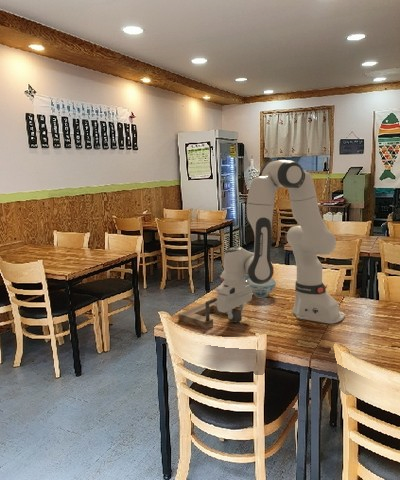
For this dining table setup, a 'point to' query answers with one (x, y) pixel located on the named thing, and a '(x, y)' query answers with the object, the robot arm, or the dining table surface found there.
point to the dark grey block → (236, 314)
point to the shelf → (201, 314)
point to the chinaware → (262, 288)
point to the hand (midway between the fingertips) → (235, 315)
